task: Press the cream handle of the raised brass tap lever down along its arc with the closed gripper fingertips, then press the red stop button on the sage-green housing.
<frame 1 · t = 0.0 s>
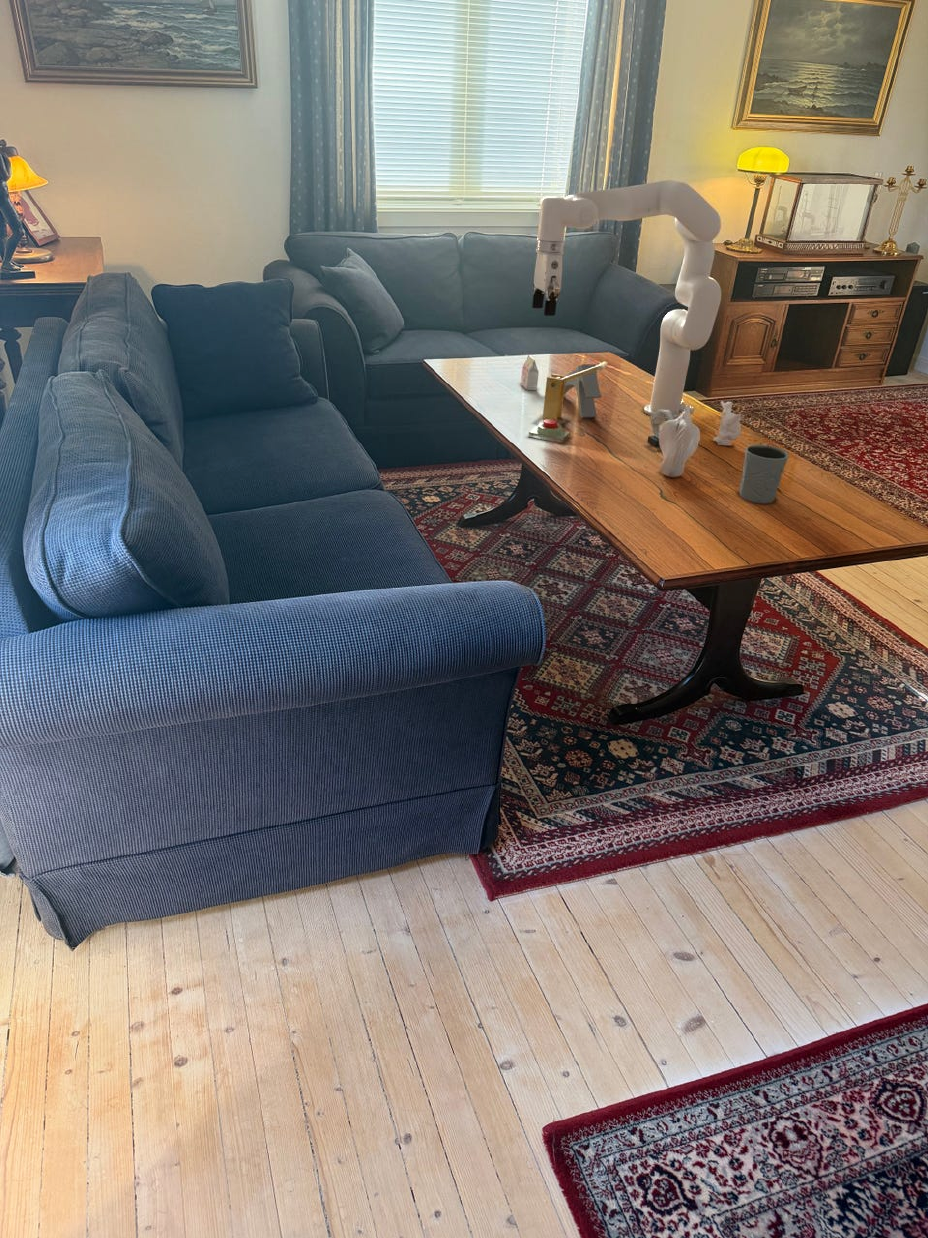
hand: (543, 311, 239), 31 cm above the table, tool pointing down, fingers open, 9 cm apart
shell sculpture: (672, 475, 221), on the table
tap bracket: (551, 422, 253), on the table
tap lever: (577, 374, 243), point 15 cm above the table, hinge at 28.0°
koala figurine: (723, 444, 246), on the table
stop button: (550, 424, 239), point 4 cm above the table, slide at 0.1 cm
button box: (548, 437, 241), on the table
milk carton: (528, 387, 284), on the table
grey cup: (755, 497, 212), on the table
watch: (658, 448, 239), on the table
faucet: (571, 409, 266), on the table
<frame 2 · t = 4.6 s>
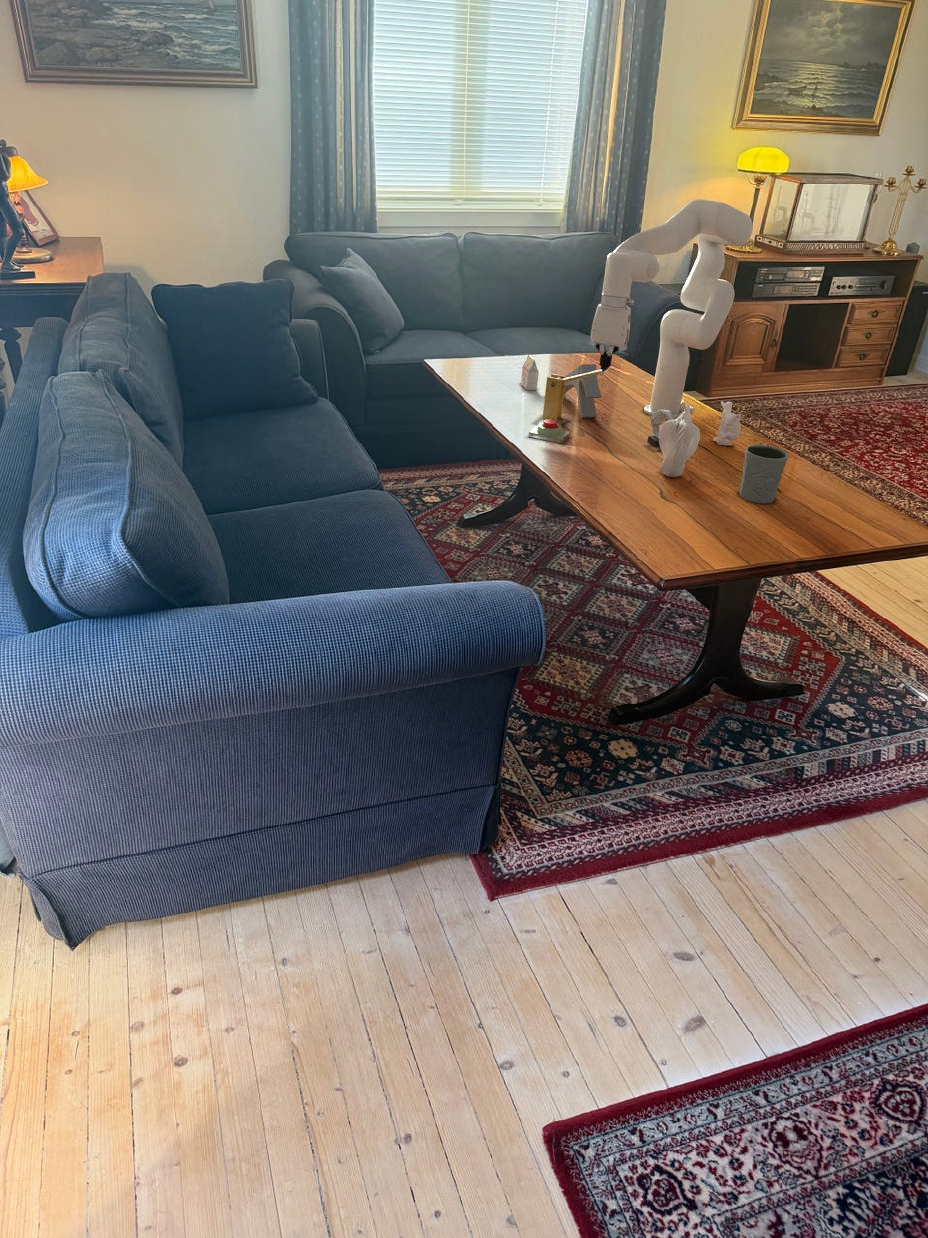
hand: (604, 368, 239), 18 cm above the table, tool pointing down, fingers closed
tap lever: (578, 377, 243), point 15 cm above the table, hinge at 22.2°, touching gripper
everything else where it was.
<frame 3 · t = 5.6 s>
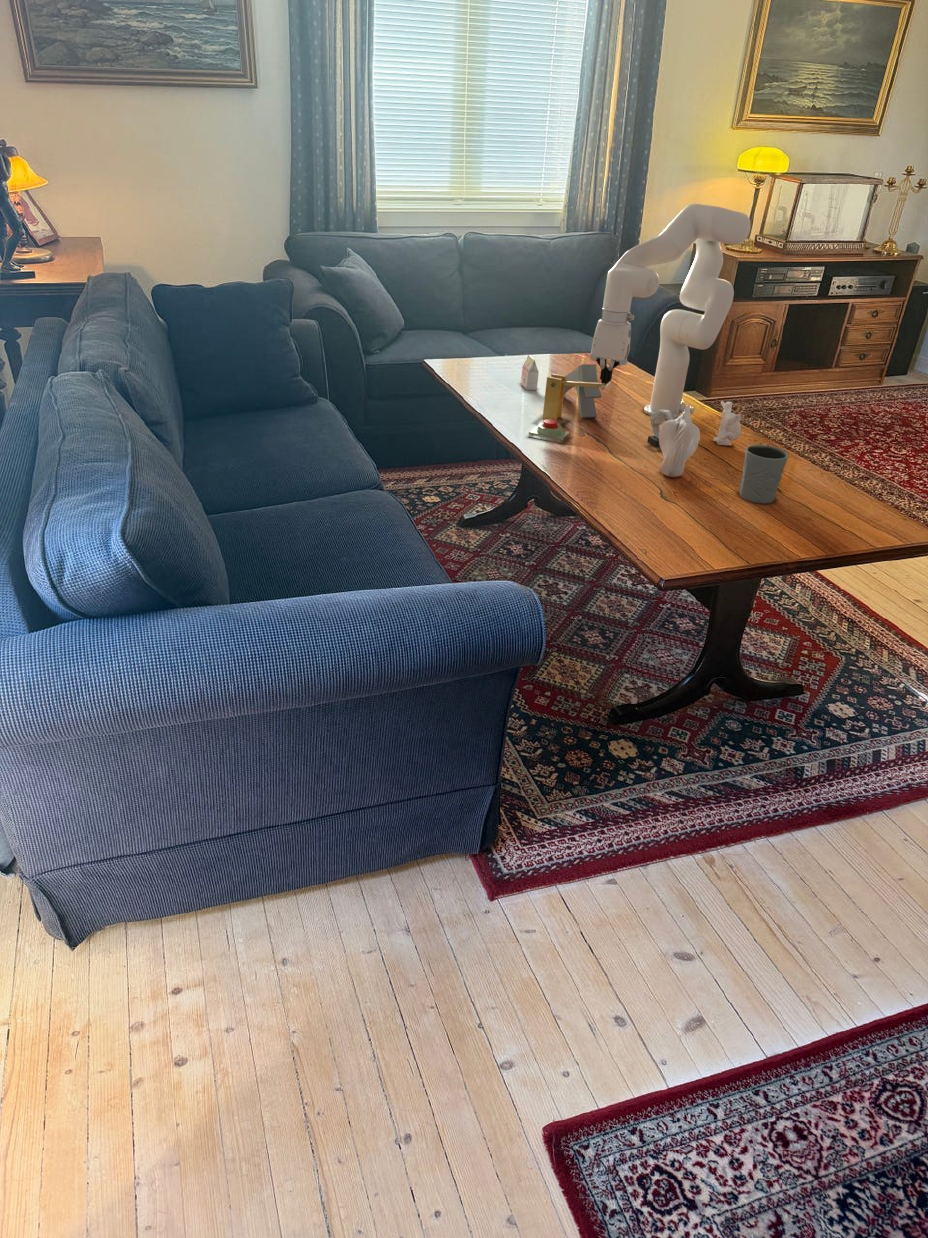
hand: (605, 382, 241), 15 cm above the table, tool pointing down, fingers closed
tap lever: (579, 383, 244), point 13 cm above the table, hinge at 6.7°, touching gripper
everything else where it was.
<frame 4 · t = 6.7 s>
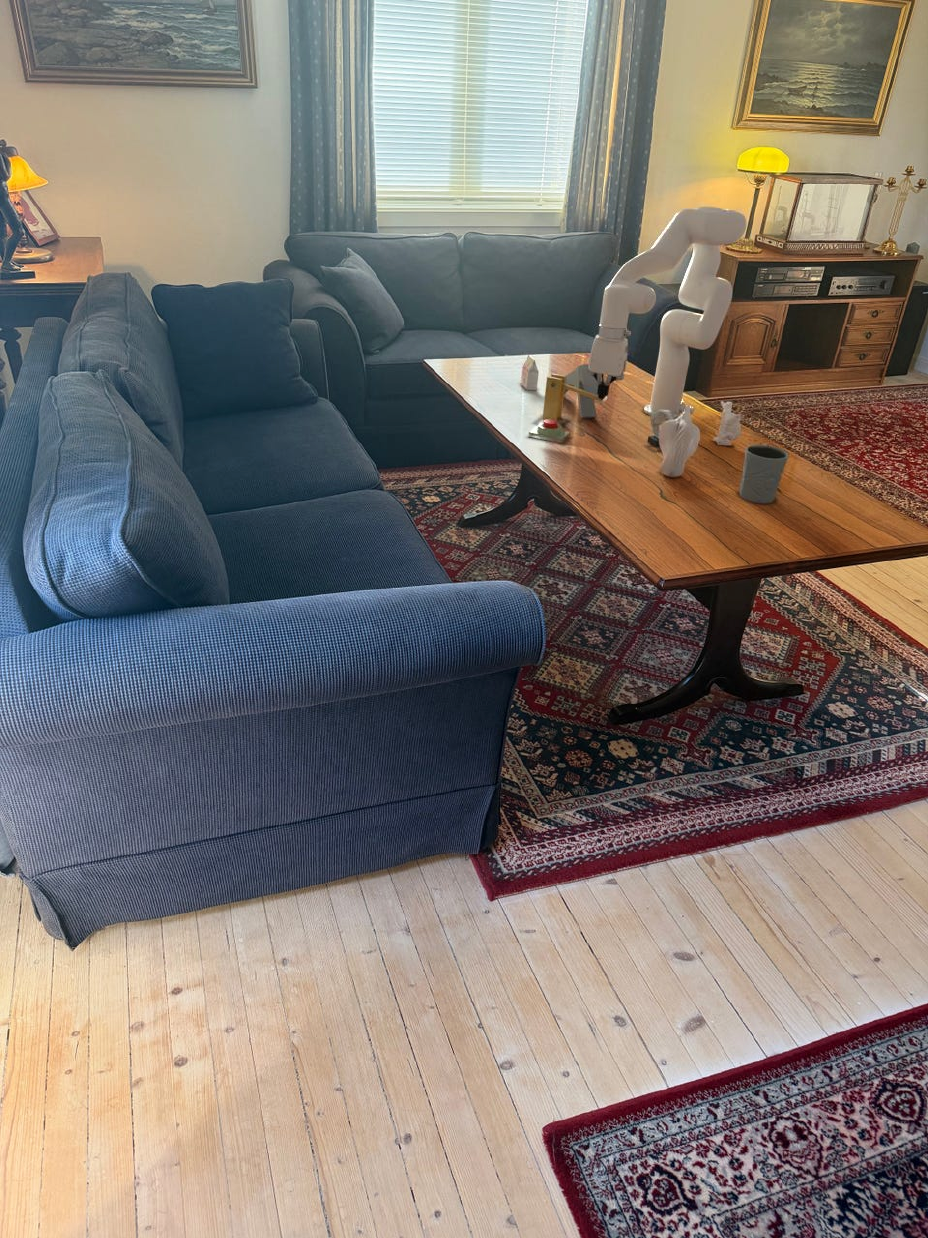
hand: (602, 397, 243), 10 cm above the table, tool pointing down, fingers closed
tap lever: (578, 390, 245), point 11 cm above the table, hinge at -9.9°, touching gripper
everything else where it was.
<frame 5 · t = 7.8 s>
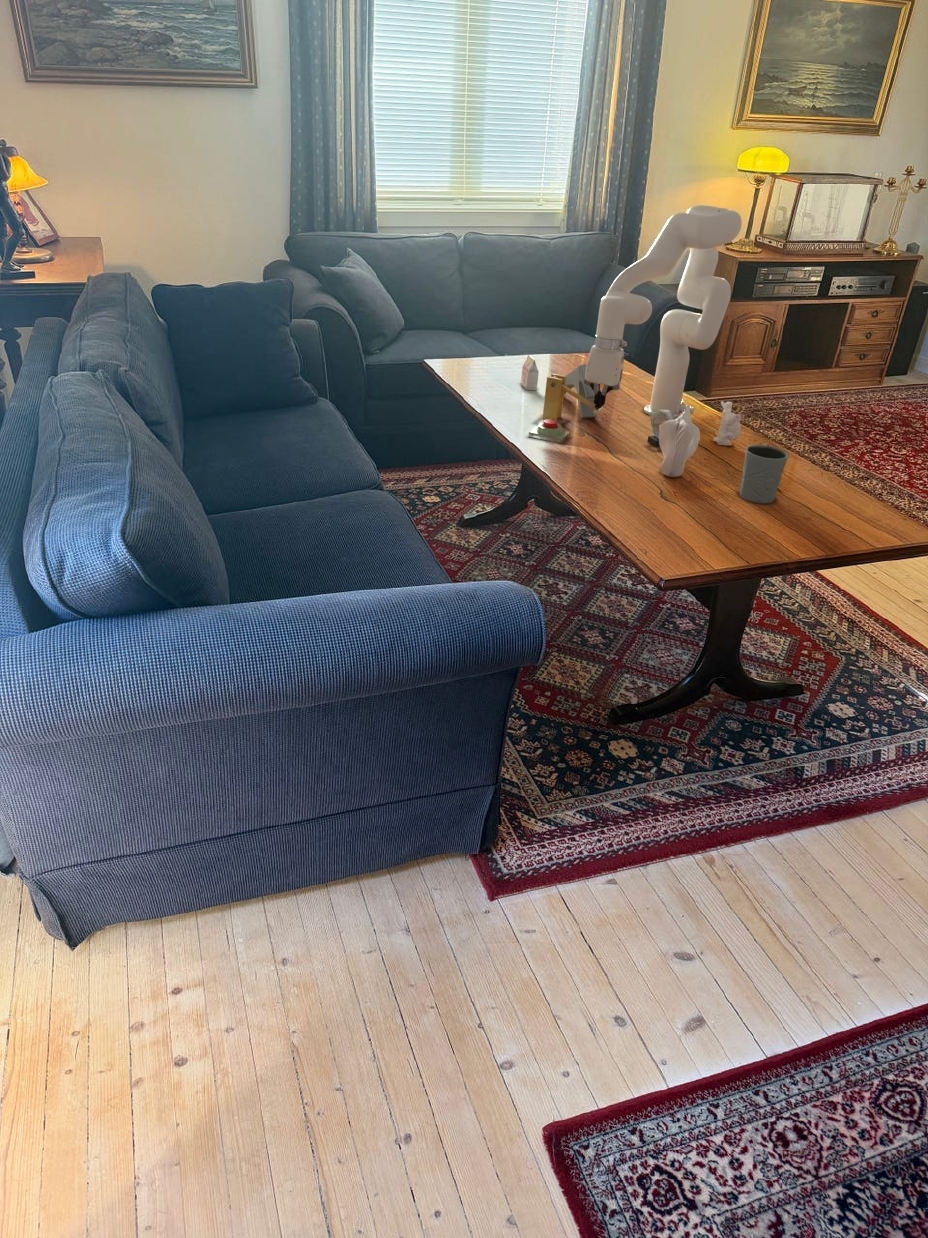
hand: (598, 406, 245), 7 cm above the table, tool pointing down, fingers closed
tap lever: (576, 395, 246), point 9 cm above the table, hinge at -22.1°, touching gripper
everything else where it was.
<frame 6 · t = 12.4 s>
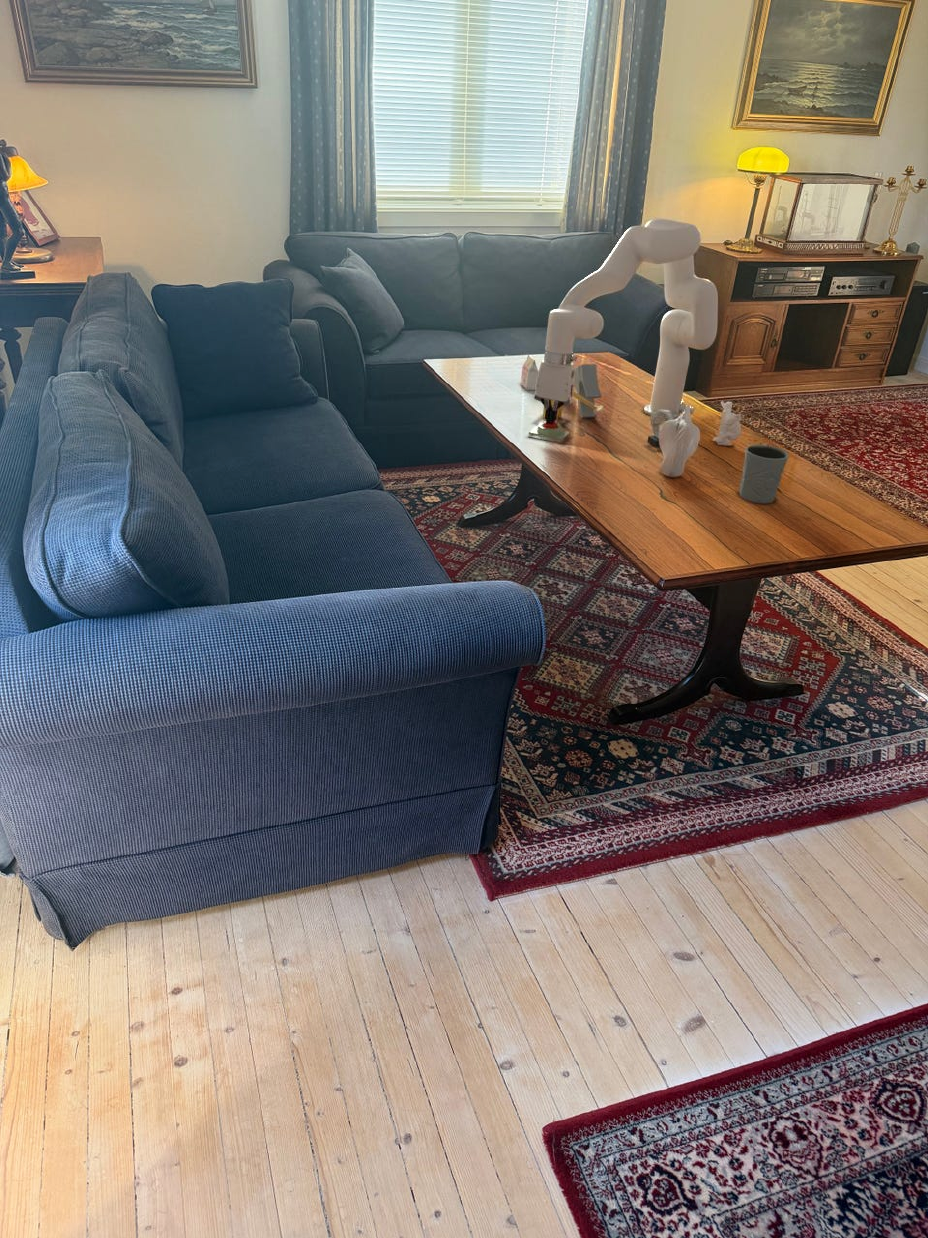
hand: (550, 422, 238), 5 cm above the table, tool pointing down, fingers closed
tap lever: (576, 395, 246), point 9 cm above the table, hinge at -22.1°
stop button: (550, 425, 239), point 4 cm above the table, slide at -0.3 cm, touching gripper
everything else where it was.
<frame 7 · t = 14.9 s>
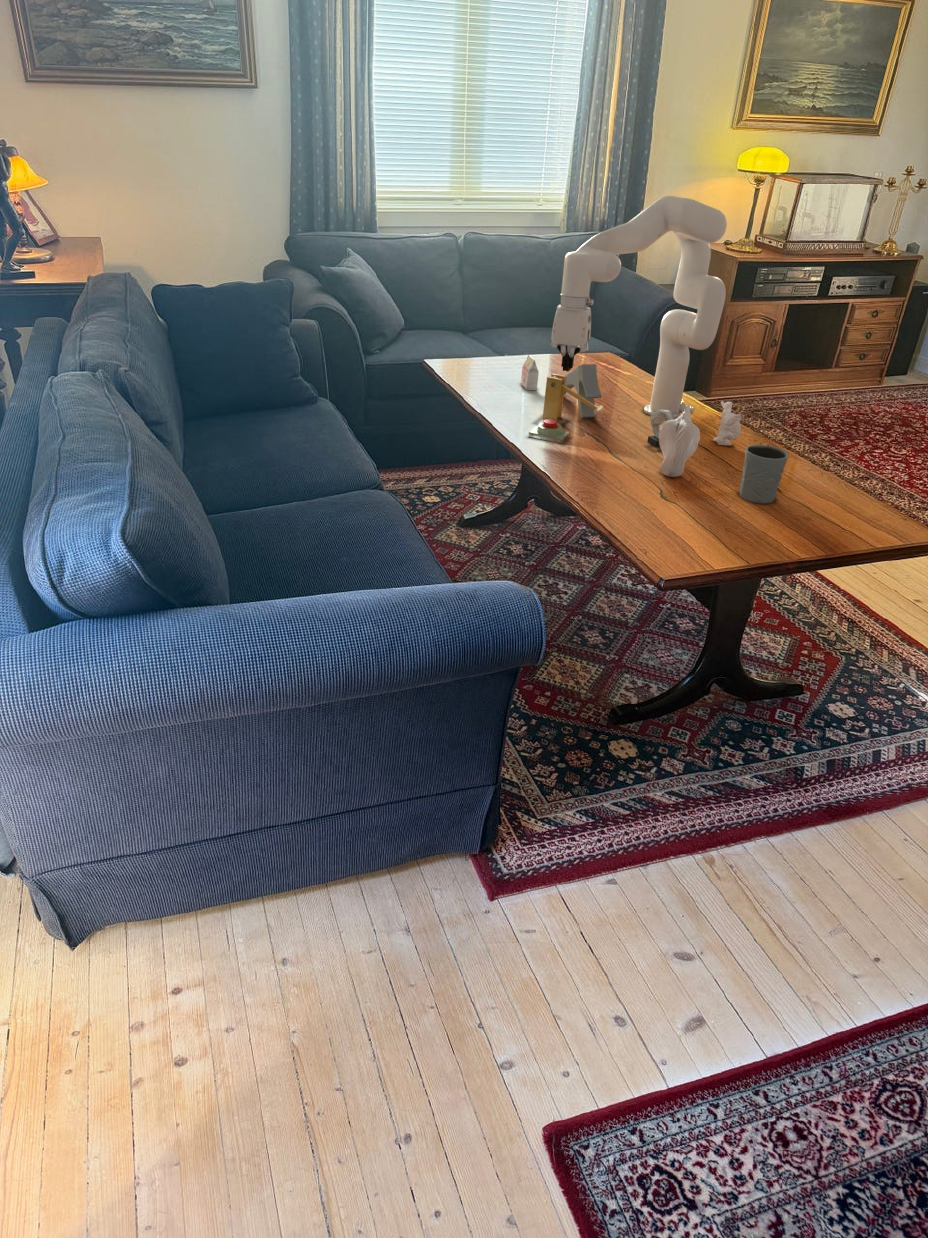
hand: (566, 369, 235), 18 cm above the table, tool pointing down, fingers closed
stop button: (550, 424, 239), point 4 cm above the table, slide at 0.1 cm
everything else where it was.
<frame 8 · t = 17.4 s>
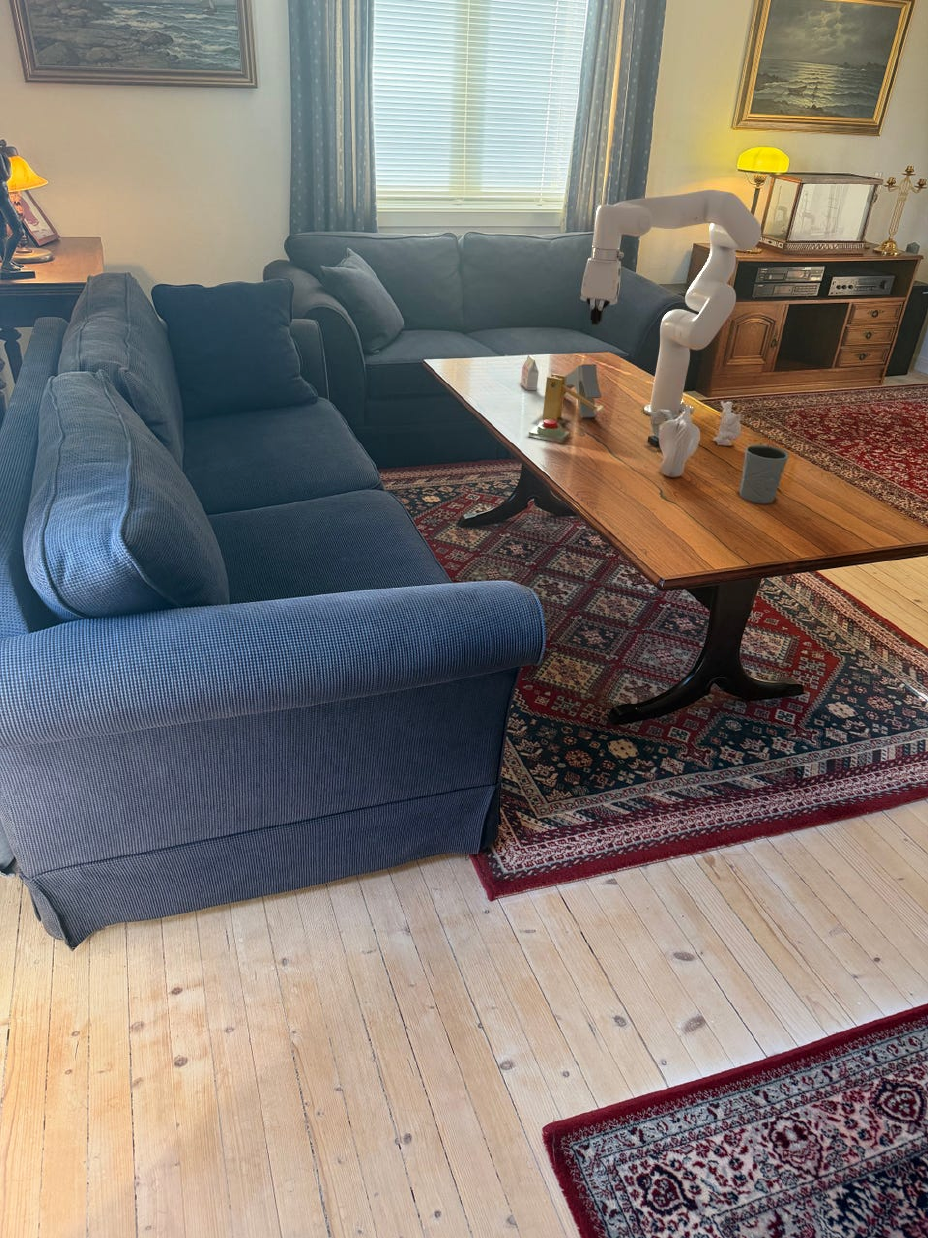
hand: (595, 323, 240), 29 cm above the table, tool pointing down, fingers closed
nothing on the table moved.
at the end: tap lever at -22° (first picture: +28°); stop button pushed in 1.1 cm at the most during the clip, back to where it started at the end; stop button slide at 0.1 cm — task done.
